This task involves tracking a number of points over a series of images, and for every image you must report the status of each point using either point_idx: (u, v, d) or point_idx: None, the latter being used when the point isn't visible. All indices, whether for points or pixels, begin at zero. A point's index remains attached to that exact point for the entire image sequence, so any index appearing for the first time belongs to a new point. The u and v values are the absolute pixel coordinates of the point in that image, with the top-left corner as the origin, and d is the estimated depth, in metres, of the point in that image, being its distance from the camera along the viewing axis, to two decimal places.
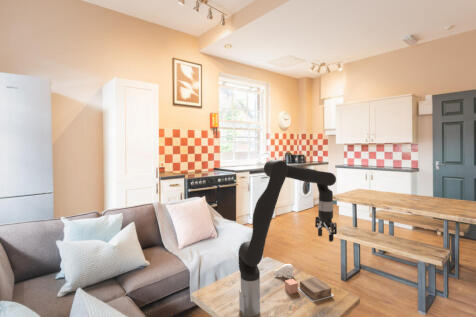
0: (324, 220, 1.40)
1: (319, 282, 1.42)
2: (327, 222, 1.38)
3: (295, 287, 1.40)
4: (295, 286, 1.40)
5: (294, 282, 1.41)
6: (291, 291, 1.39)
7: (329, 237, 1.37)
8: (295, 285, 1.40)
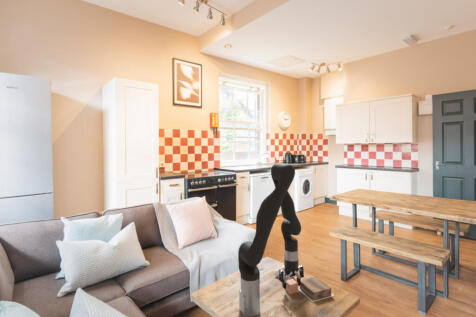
0: (293, 269, 1.40)
1: (319, 282, 1.42)
2: (296, 269, 1.41)
3: (295, 287, 1.40)
4: (295, 286, 1.40)
5: (294, 282, 1.41)
6: (291, 291, 1.39)
7: (299, 282, 1.42)
8: (295, 285, 1.40)
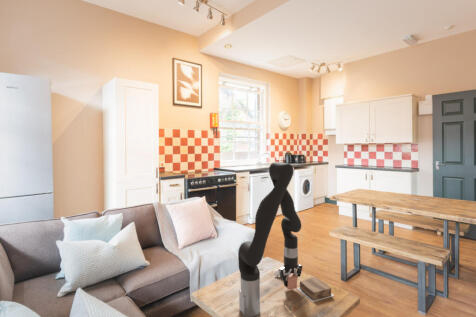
0: (292, 266, 1.41)
1: (319, 282, 1.42)
2: (296, 266, 1.41)
3: (294, 281, 1.40)
4: (294, 281, 1.40)
5: (293, 276, 1.41)
6: (290, 285, 1.39)
7: None
8: (294, 279, 1.40)
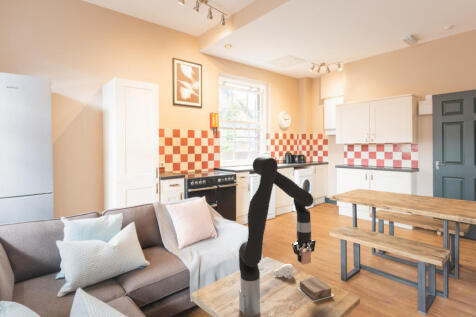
0: (305, 241, 1.39)
1: (319, 282, 1.42)
2: (309, 241, 1.40)
3: (308, 255, 1.38)
4: (308, 255, 1.38)
5: (307, 251, 1.39)
6: (304, 260, 1.38)
7: None
8: (308, 254, 1.38)
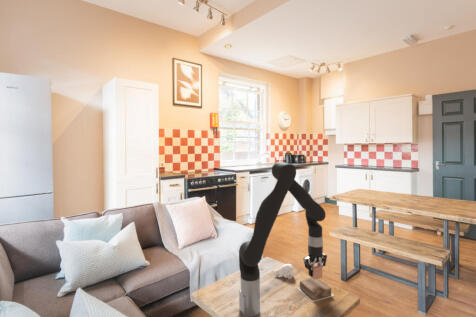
0: (317, 255, 1.38)
1: (319, 282, 1.42)
2: (320, 255, 1.39)
3: (319, 270, 1.38)
4: (319, 270, 1.38)
5: (318, 266, 1.39)
6: (315, 274, 1.37)
7: None
8: (319, 268, 1.38)
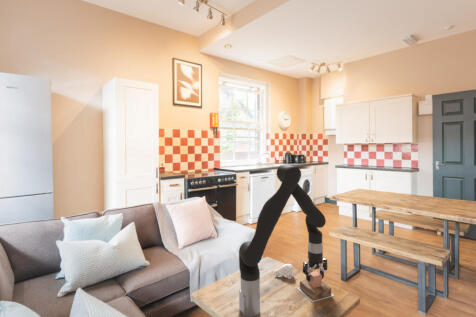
0: (317, 261, 1.39)
1: None
2: (320, 261, 1.39)
3: (319, 279, 1.38)
4: (319, 278, 1.38)
5: (318, 274, 1.39)
6: (315, 283, 1.37)
7: (323, 274, 1.40)
8: (319, 277, 1.38)
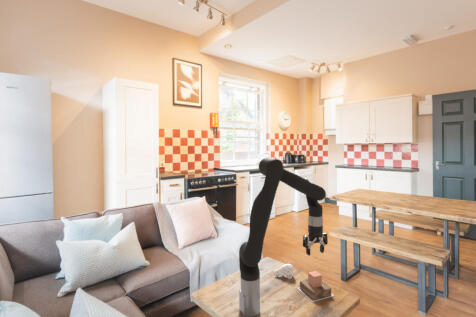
0: (317, 235, 1.38)
1: None
2: (320, 235, 1.39)
3: (319, 279, 1.38)
4: (319, 278, 1.38)
5: (318, 274, 1.39)
6: (315, 283, 1.37)
7: (323, 249, 1.40)
8: (319, 277, 1.38)
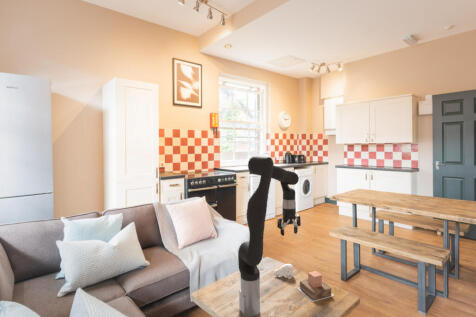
0: (290, 217, 1.50)
1: None
2: (294, 217, 1.51)
3: (319, 279, 1.38)
4: (319, 278, 1.38)
5: (318, 274, 1.39)
6: (315, 283, 1.37)
7: (296, 230, 1.52)
8: (319, 277, 1.38)
